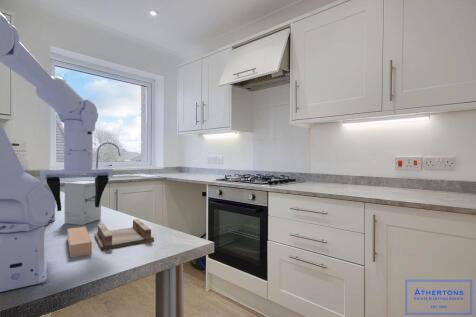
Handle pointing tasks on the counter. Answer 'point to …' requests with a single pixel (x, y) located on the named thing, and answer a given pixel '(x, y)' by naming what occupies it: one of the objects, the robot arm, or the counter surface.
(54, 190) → the robot arm
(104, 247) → the brown wooden stand
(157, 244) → the counter surface
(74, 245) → the clay strip
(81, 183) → the supplement box
